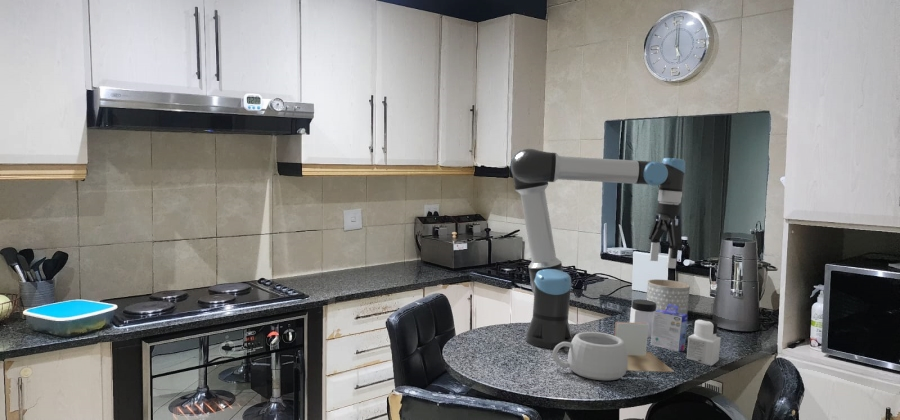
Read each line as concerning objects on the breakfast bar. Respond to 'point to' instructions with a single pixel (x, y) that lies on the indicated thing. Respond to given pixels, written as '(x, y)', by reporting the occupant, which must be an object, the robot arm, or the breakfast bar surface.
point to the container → (704, 342)
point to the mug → (595, 356)
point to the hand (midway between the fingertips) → (662, 264)
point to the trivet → (646, 363)
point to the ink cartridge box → (669, 329)
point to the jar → (643, 313)
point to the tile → (633, 336)
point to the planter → (668, 294)
